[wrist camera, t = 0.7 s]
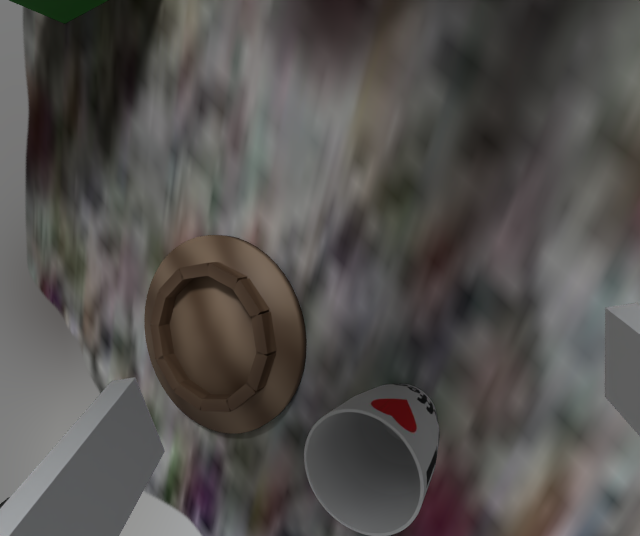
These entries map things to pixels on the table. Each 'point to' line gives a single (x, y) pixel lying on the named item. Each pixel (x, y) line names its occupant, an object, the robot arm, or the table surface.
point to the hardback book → (60, 7)
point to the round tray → (225, 333)
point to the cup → (374, 458)
